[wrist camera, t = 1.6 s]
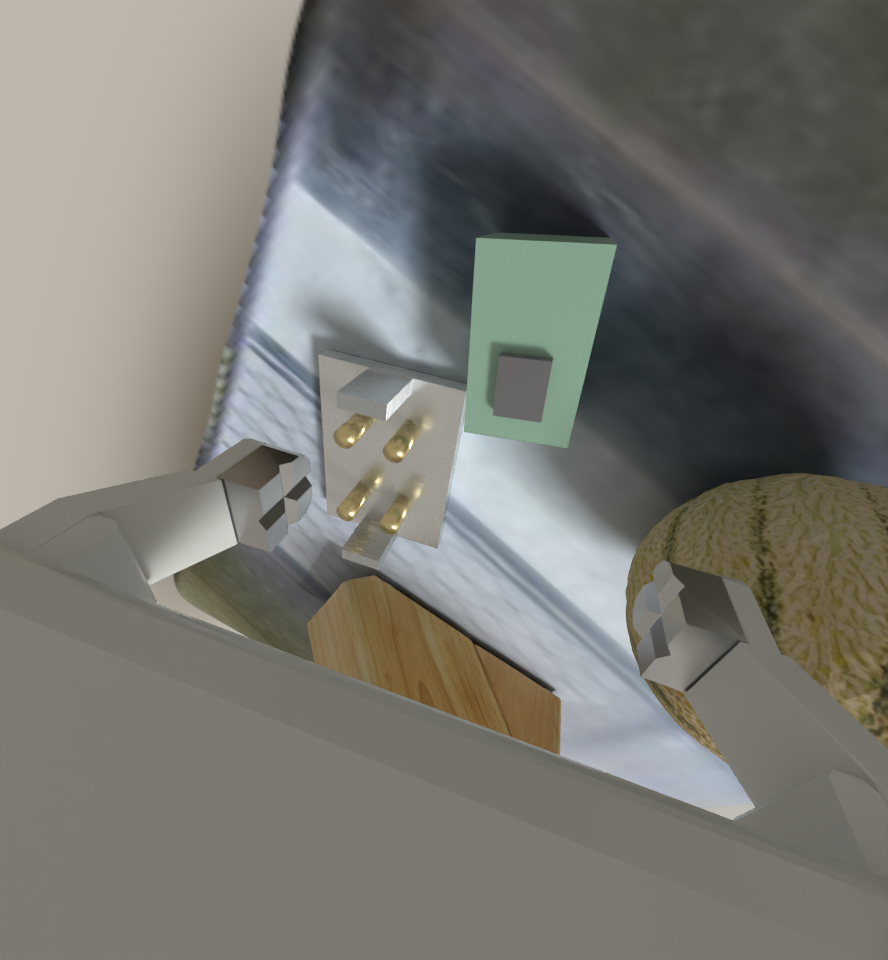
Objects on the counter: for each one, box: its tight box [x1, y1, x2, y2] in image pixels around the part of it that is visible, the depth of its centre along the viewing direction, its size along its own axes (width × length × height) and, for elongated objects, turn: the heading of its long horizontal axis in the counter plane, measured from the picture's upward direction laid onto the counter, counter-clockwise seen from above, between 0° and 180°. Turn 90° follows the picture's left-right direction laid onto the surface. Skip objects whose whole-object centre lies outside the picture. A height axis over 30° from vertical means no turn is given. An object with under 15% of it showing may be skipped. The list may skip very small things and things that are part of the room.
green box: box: [464, 232, 617, 448], centre depth 20 cm, size 9×6×6 cm, turn 179°
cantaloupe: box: [626, 473, 888, 764], centre depth 19 cm, size 15×15×15 cm
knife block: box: [307, 575, 561, 755], centre depth 31 cm, size 11×35×31 cm, turn 57°
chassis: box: [318, 349, 467, 570], centre depth 27 cm, size 14×10×5 cm
